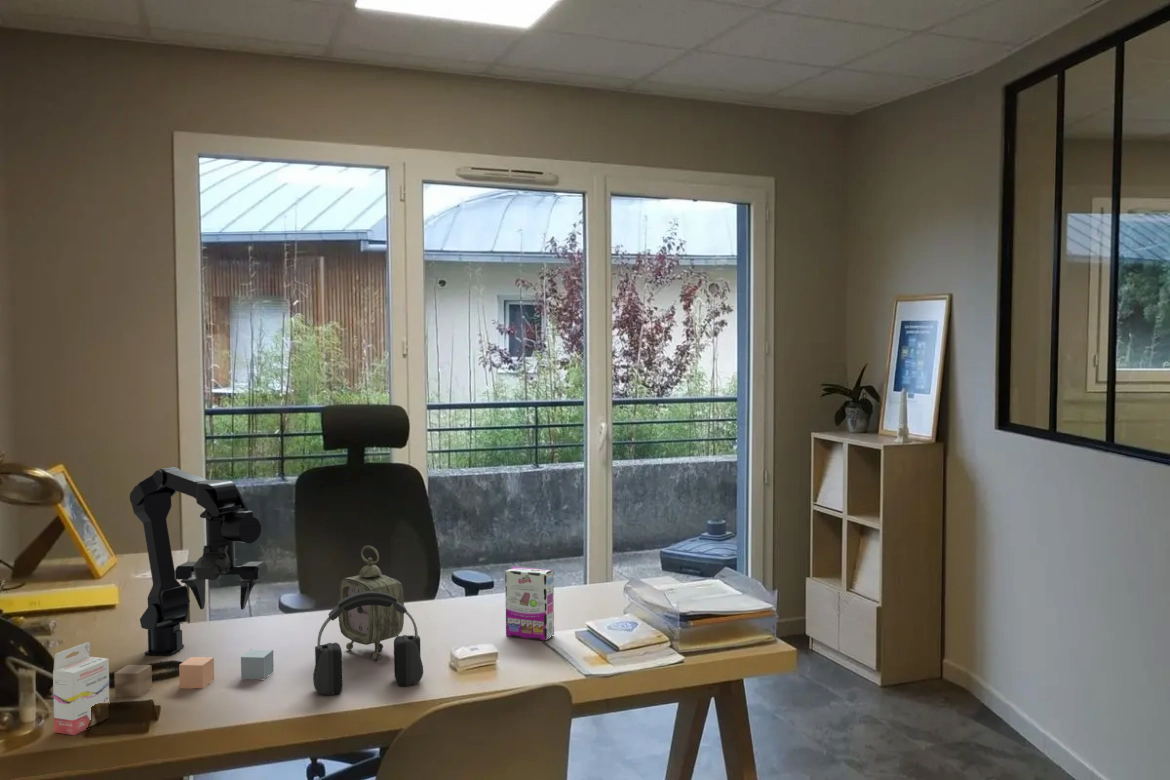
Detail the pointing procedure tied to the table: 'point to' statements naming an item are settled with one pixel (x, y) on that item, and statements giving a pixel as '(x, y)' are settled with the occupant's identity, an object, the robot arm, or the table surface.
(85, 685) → the ink cartridge box
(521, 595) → the candy bar box
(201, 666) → the terracotta cube
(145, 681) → the walnut cube
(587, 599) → the table surface
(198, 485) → the robot arm
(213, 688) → the table surface
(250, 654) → the slate grey cube
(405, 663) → the headphones
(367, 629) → the tabletop clock
